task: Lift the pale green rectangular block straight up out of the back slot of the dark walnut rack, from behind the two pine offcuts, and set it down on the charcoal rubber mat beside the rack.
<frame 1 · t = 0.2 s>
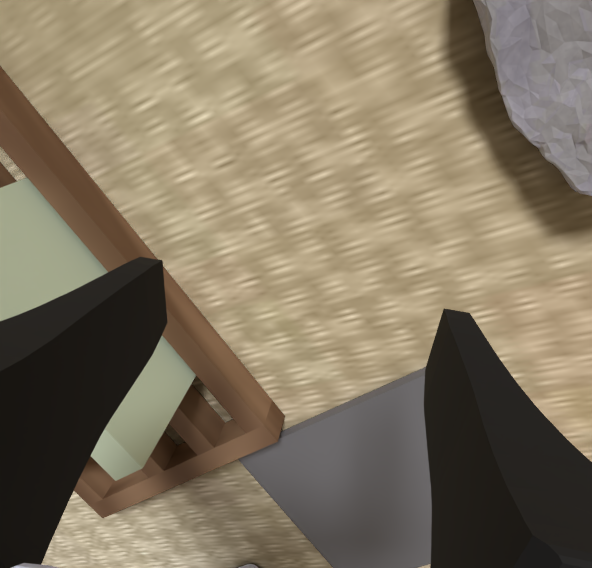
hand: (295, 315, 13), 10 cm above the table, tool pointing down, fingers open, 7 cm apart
mat: (397, 481, 29), on the table
rack: (64, 316, 27), on the table
pale green rectangular block: (123, 275, 26), resting in rack
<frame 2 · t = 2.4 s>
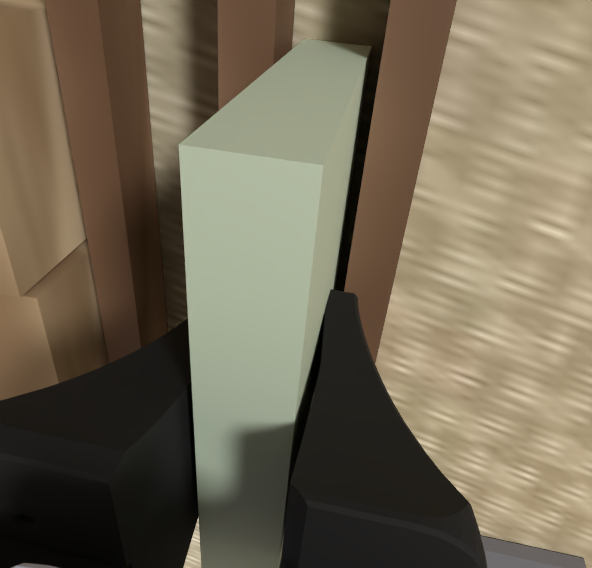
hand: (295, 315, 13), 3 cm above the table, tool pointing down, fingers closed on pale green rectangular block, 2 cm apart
rack: (168, 234, 16), on the table
offcut a: (47, 115, 15), resting in rack
pale green rectangular block: (313, 258, 15), resting in rack, touching gripper
offcut b: (83, 295, 18), resting in rack
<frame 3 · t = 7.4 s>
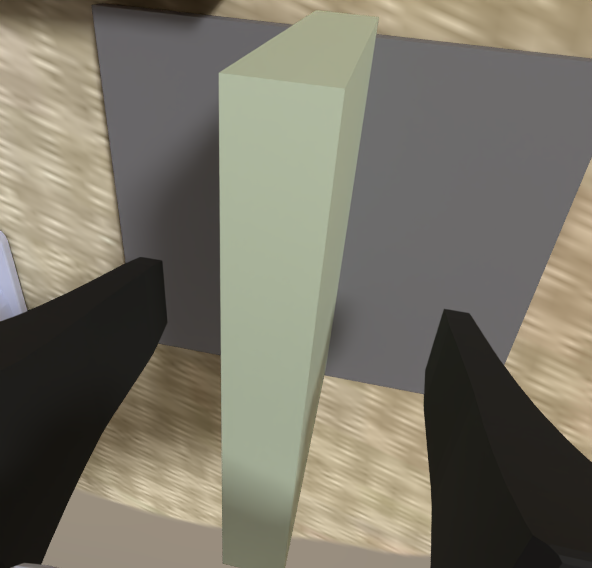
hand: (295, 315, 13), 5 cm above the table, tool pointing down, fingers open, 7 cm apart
mat: (322, 228, 17), on the table
pale green rectangular block: (322, 224, 16), point 1 cm above the table, touching mat
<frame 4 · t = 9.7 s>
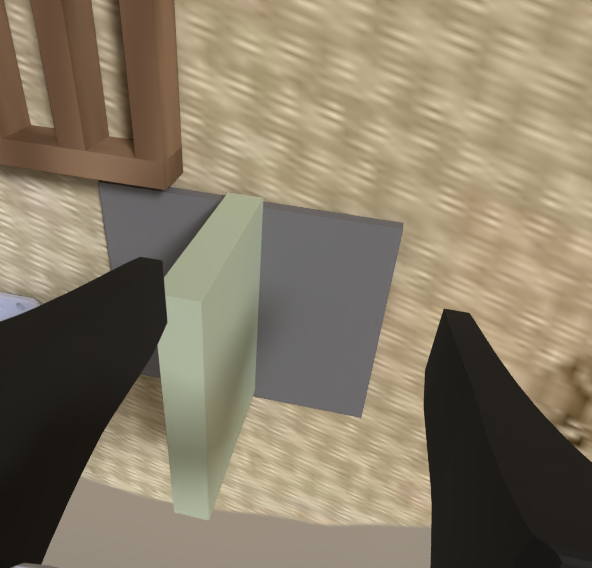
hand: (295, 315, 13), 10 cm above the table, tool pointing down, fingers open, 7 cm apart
mat: (245, 304, 26), on the table
pale green rectangular block: (243, 304, 26), point 1 cm above the table, touching mat
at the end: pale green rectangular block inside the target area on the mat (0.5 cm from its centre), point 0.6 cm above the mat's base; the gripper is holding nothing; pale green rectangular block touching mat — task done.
